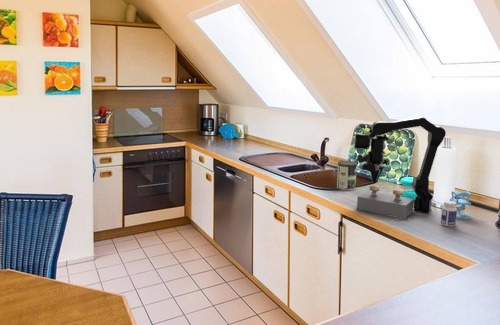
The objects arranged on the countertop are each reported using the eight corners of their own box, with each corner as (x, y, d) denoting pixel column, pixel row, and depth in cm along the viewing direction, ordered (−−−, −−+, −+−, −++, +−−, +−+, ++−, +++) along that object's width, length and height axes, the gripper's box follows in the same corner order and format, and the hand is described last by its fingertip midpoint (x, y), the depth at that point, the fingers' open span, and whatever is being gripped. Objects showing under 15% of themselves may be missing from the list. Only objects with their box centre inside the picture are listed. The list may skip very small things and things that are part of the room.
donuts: (400, 176, 224) (420, 177, 221) (398, 194, 226) (418, 196, 223) (402, 180, 214) (423, 181, 212) (400, 200, 216) (421, 201, 214)
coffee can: (354, 185, 242) (356, 161, 239) (356, 190, 232) (357, 165, 229) (336, 185, 244) (337, 160, 241) (336, 189, 234) (338, 164, 231)
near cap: (403, 204, 196) (404, 189, 195) (400, 206, 193) (401, 192, 192) (394, 202, 199) (395, 188, 198) (390, 204, 196) (391, 190, 194)
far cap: (380, 199, 203) (380, 186, 201) (376, 201, 199) (377, 188, 198) (371, 198, 205) (371, 184, 204) (367, 200, 202) (368, 186, 201)
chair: (463, 213, 197) (465, 187, 194) (471, 219, 189) (474, 192, 186) (445, 213, 197) (448, 187, 195) (453, 219, 189) (456, 192, 186)
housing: (412, 211, 198) (413, 199, 197) (404, 218, 189) (405, 205, 188) (366, 202, 211) (367, 191, 210) (356, 208, 202) (357, 196, 201)
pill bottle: (456, 224, 183) (458, 201, 181) (454, 228, 178) (457, 205, 176) (441, 221, 185) (443, 199, 183) (439, 225, 181) (441, 202, 179)
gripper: (368, 144, 209) (366, 176, 213) (352, 150, 195) (350, 183, 198) (390, 147, 203) (388, 179, 206) (376, 153, 188) (373, 187, 192)
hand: (374, 182), depth 201 cm, fingers closed
